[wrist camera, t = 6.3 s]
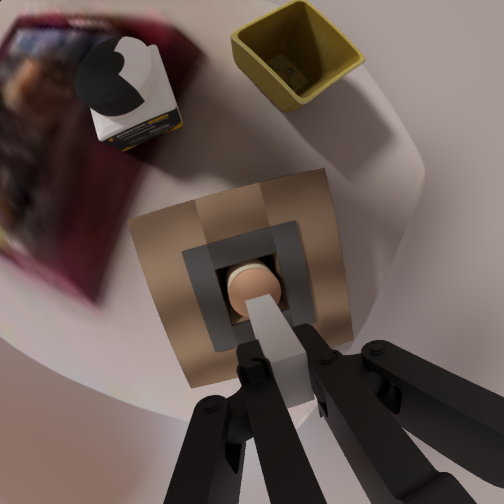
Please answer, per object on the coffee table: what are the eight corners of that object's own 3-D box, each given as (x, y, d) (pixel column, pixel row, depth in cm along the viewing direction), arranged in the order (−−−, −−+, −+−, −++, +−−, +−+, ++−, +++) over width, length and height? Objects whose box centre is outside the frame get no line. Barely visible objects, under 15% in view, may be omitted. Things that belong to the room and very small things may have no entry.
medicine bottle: (122, 153, 26) (72, 130, 15) (106, 97, 25) (59, 54, 13) (184, 126, 27) (169, 85, 15) (165, 72, 25) (145, 13, 14)
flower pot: (276, 130, 28) (303, 106, 20) (222, 74, 26) (227, 33, 18) (330, 88, 28) (368, 59, 19) (279, 37, 26) (301, -5, 17)
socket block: (148, 213, 28) (125, 220, 20) (295, 174, 30) (326, 167, 21) (193, 347, 32) (190, 391, 24) (323, 308, 33) (355, 341, 25)
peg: (219, 254, 29) (222, 277, 21) (257, 244, 29) (274, 262, 21) (229, 291, 30) (236, 323, 22) (266, 280, 30) (285, 309, 22)
